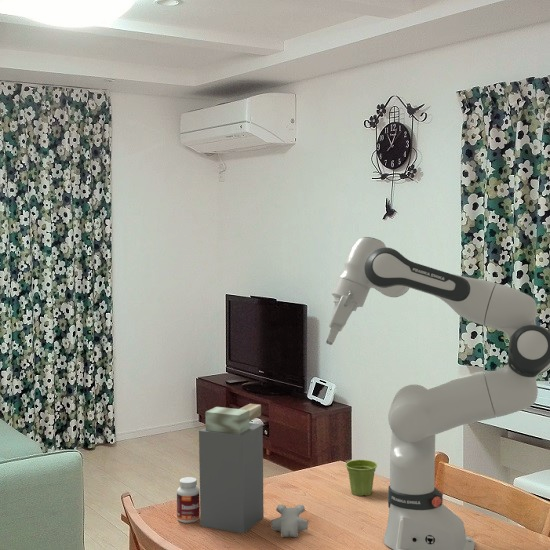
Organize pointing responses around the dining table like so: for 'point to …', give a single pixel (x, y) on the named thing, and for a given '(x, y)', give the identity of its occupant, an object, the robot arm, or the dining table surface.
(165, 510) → the dining table surface
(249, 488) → the stand
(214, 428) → the mallet
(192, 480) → the pill bottle
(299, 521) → the grey soft figure
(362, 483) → the plant pot
